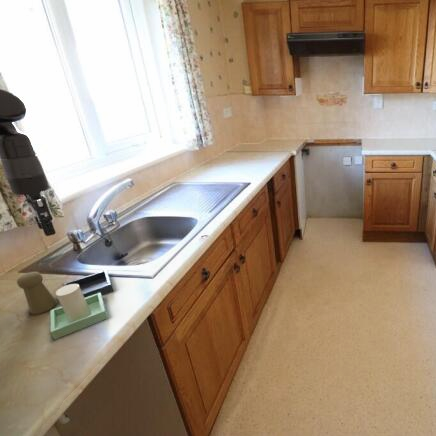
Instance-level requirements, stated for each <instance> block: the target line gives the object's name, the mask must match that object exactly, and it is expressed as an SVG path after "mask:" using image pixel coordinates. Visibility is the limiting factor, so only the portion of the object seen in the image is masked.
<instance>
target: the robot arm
mask: <svg viewBox="0 0 436 436" xmlns="http://www.w3.org/2000/svg"><path fill="white" fill-rule="evenodd" d="M27 114H28V107H27V105H26V103H25V102H24V101H23V100H22V99H21V97H19V96H17V95H16V94H14V93H12V92H10V91H7V90H4V89H2V88H0V163H1V168H2V171H3V173H4V175H5V178H6V181H7V183H8V186H9V188H10V190H11V193H12V194H13V195H15V196H24V198H25V199H24V203H25V204H26V205H25V206H27V208H28V211H29V212H30V213H31V215H32V216H33V217H34V220H35V222H36V224H37V227H38V229H39V230H42V231H43V233H44V235H45V236H46V237H50V236H54V235H56V230H55V227H54V225H53V222H52V221H53V216H52V213H51V209H50V207H49V205H48V200H47V198H46V197H45V196H44V195H42V194H41V192H46V191H47V190H49V189H50V185H49V182H48V178H47V176H46V174H45V171H44V168H43V165H42V163H41V160H40V158H39V157H38V155H37V152H36V149H35V147H34V144H33V141H32V139H31V137H30V136H29V134H27V133H25V132H22V131H20V130H19V129H18V128H17V127H16V124H14V123H16V122H20V121H23V120H24V119H25V118H26V117H27Z"/></svg>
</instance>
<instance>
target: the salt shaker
mask: <svg viewBox="0 0 436 436" xmlns="http://www.w3.org/2000/svg"><path fill="white" fill-rule="evenodd" d="M55 296H56V298H57V300H58V302H59V304H60V307H61V306H62V308H63V310H64V312H65V314H66V316H67V318H68V320H69V322H74V321H76V320H79V319H81V318H84V317H87V316H89V315H90V314H91V311H90V308H89V306H88V304H87V302H86V300H85V297H84V295H83V293H82V291H81V288H80V286H79V285H78V284H69V285H66V286H64V287H63V286H62V287H60V288H59V289H57V290H56V291H55Z"/></svg>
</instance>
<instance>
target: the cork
mask: <svg viewBox="0 0 436 436" xmlns="http://www.w3.org/2000/svg"><path fill="white" fill-rule="evenodd" d="M43 279H44V278H43V275H42V274H41V273H40V272H39V271H29V272H26V273H23V274H22V275H21V276H19V277H18V278H17V280H16V284H17V286H18V287H19V288H20V289H22V290H23V293H24V296H25V300H26V303H27V305H28V306H27V307H28V308H29V313H31V315H32V314H33V315H39V314H42V313H43V314H44V313H45V312H46V313H47V312H48V311H50V310H52V309H54V307H56V305H57V304H58V301H57V299H56V298H55V297H54V296H53V294H52V293H51V292H50V290H49V289H48V288H47V286H46V285H45V284H44V282H43Z"/></svg>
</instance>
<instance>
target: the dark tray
mask: <svg viewBox="0 0 436 436" xmlns="http://www.w3.org/2000/svg"><path fill="white" fill-rule="evenodd" d="M69 284H78V285H79V286H80V288H81V291H82V293H83V295H84V297H85V298H86V297H89V296H92V295H94V294H97V293H101V295H102V296H104V295H106V294H109V293H112V292H114V291H115V290H114V287H113V284H112V281H111V277H110V275H109V272H108V270H107V269H104V270H102V271H98V272H94V273H92V274H89V275H86V276H83V277H80V278H76V279H73V280H71V281H68V282H67V281H66V282H65V283H62V287H64V286H66V285H69Z"/></svg>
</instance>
